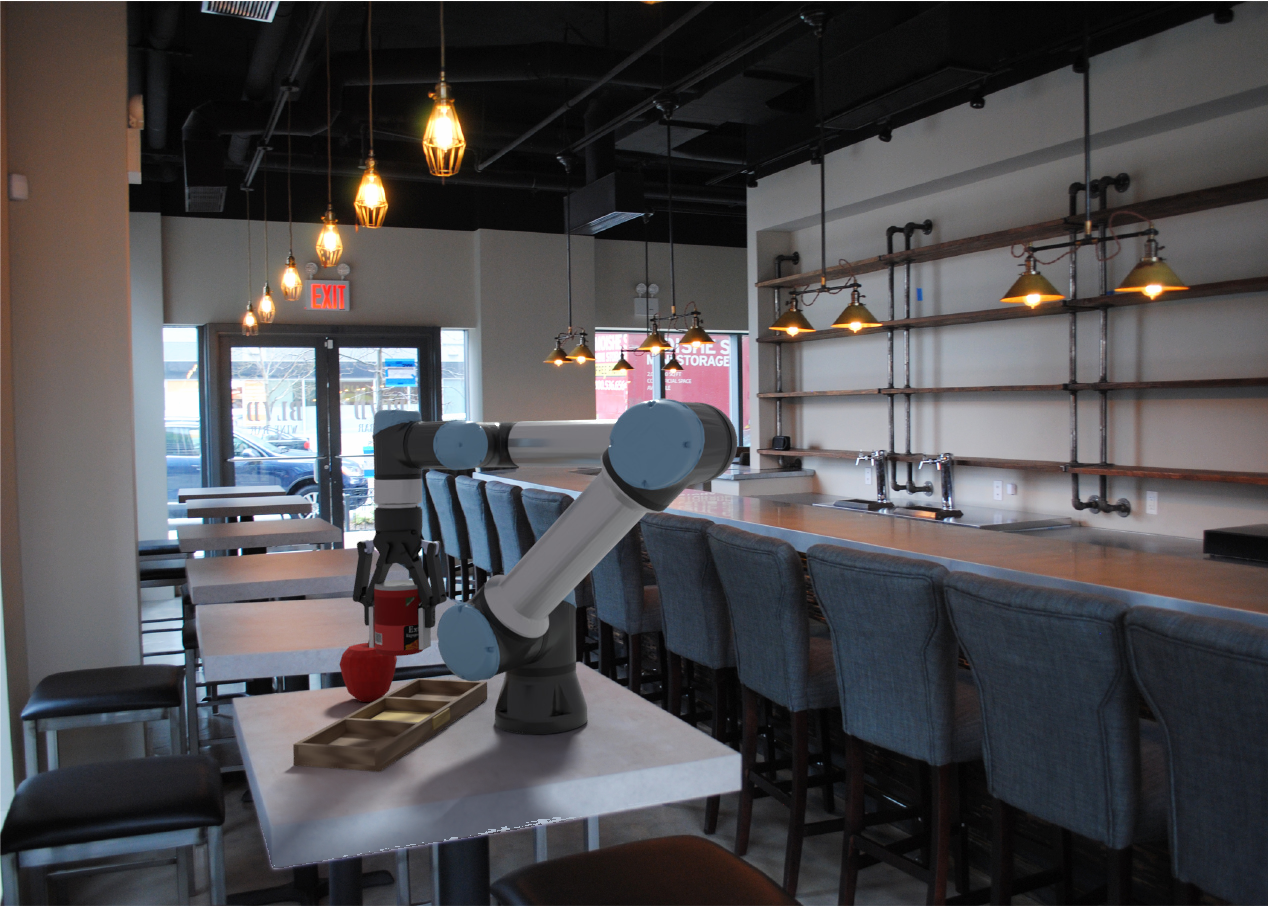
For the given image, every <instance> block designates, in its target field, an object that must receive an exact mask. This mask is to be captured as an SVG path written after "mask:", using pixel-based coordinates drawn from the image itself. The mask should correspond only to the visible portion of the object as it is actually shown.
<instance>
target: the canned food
mask: <svg viewBox="0 0 1268 906" xmlns="http://www.w3.org/2000/svg"><path fill="white" fill-rule="evenodd" d="M422 606H423V604H422V602H421V599H420V597H419V594H418V588H417V585H414V582H413V580H412V579H391V580H385V582H383V583H380V584H375V587H374V610H375V648H376V651H377V653H378V654H381V655H386V656H396V657H402V656H411V655H416V654H419V653H421V652H423V651H424V650H419V610H418V609H419V608H422Z"/></svg>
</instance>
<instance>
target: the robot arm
mask: <svg viewBox="0 0 1268 906" xmlns="http://www.w3.org/2000/svg"><path fill="white" fill-rule="evenodd" d="M735 428H736V427H735V426H734V424H733V422H732V421H731V418H730V417H728V415H727V414H726V413H724V412H723V411H722V410H721V409H719V408H718V407H716V406H715V405H711V404H710V403H706V402H705V403H704V402H696V401H695V402H692V401H678V400H675V399H670V398H657V399H651V400H645V401H642V402H639V403H636V404H634V405H632V406H630V407H629V408H628V409H626V410H625V411H624V412H623V413H622V414H621V415H620V416H619V417H618V418H617V419H616V418H615V419H613V418H612V419H575V420H574V419H573V420H542V421H541V420H536V421H535V420H534V421H473V420H465V419H451V420H438V421H437V420H436V421H423V420H422V414H421V412H420V411H419V410H417V409H381V410H378V411H377V412H375V414H374V417H373V428H372V429H373V431H372V443H373V444H372V445H373V467H374V468H373V503H374V505H377V507H375V509H374V512H373V513H374V514H373V515H374V517H373V518H374V519H373V520H374V525H373V527H374V530H375V534H374V537H373V539H371V540H369V539H366V540H360V541H358V542H356V548H357V555H358V559H357V565H356V573H355V578H354V586H353V593H352V600H353V602H354V603H360V604H361V605H363V609H364V610H363V611H364V612H363V613H364V616H363V617H364V618H363V619H364V625H365V626H366V627H367V626H368V641H369V647H371V648H374V647H375V610H374V587H375V584H380V583H383V582H385V581H386V579H387V576H388V573H389V571H390V569H391V567H392V566H393V565H394V564H400V565H404V567H405V568H406V570H407V571H408V572H409V574H410V577H411V580H413V582H414V585H417V588H418V594H419V597H420V599H421V602H422V604H423V606H422V608H419V609H418V610H419V650H423V651H424V650H425V649H428V648H430V647H431V646H432V643H431V641H432V638H431V637H432V636H431V631H432V630H431V629H432V628H434V627H435V626H436V606H438V605H440V604H442V603H445V602H447V600H448V598H447V596H448V595H447V592H446V585H445V581H444V574H443V567H442V563H441V557H440V556H441V555H440V554H441V548H442V543H441V541H439V540H436V541H430V540H427V539H425V537H424V536H423V508H422V506H419V504H421V503H422V502H423V481H422V478H423V470H427V469H430V470H435V469H436V470H453V471H458V470H459V471H461V470H462V471H463V470H464V471H465V470H469V469H470V470H471V469H476V468H477V469H479V468H527V467H528V468H589V469H590V468H594V469H595V468H596V469H597V468H600V469H601V471H600V472H599V473H598V474H597V476H596V477H594V478H593V479H592V481H591V482H590V483H589V484H588V485H587V486H586V487H585V488H584V489H583V490H582V492H581V493H579V495H578V497H576V498H575V500H573V501H572V503H570V504H569V505H568V507H567V508H566V509H565V510H564V511H563V513H561V515H560V516H559V517H558V518H557V519H556V520H555V521H554V522H553V524H552V525H551V526H550V527H549V528H548V529H547V530H546V531H545V532H544V533H543V535H542V536H541V537H540V538H539V539H538V540H537V541H536V542H535V543H534V545H532V547H530V548H529V549H528V551H527V552H526V553H525V554H524V555H523V556H522V558H520V560H519V561H518V562H517V563H516V564H515V565H514V567H512V568H511V569H510V571H509V572H508V573H507V574H506V575H505V574H496V575H493V576H491V577H489V579H488V580H487V581H486V582H484V584H482V586H481V587H480V588H479V589H478V590H477V591H476V593H475V594H473V596H472V597H471V598H470V599H468V600H467V601H465V602H457V603H455V604H454V605H452V606H449V607H448V608H447V609H446V610H445V611H444V612H443V613H442V615H441V617H440V619H439V621H438V624H437V629H436V636H437V637H436V638H437V639H438V640H437V647H438V652H439V655H440V656H441V659H442V661H443V663H444V664H445V666H446V667H447V668H448V670H449V671H450V672H451V673H452V674H453V675H455V676H456V677H457V678H459V679H461V680H462V681H486V680H490V679H492V678H494V677H495V676H498V675H501V674H504V678H503V680H502V681H503V682H502V684H501V685H502V686H501V689H500V692H499V693H498V699H497V702H496V705H495V707H494V724H495V726H496V727H497V728H499V729H500V730H503V731H506V732H508V733H509V732H510V733H516V734H521V735H522V734H524V735H547V734H556V733H562V732H563V733H564V732H568V731H571V730H574V729H577V728H580V727H582V726H584V725H585V724H586V723H587V722H588V704H587V701H586V698H585V696H584V692H583V689H582V687H581V683H580V681H579V677H578V674H577V613H576V612H577V610H578V609H577V607H578V606H577V604H576V592H575V588H576V587H577V586H578V585H579V584H580V582H582V581H583V580H584V579H585V578H586V577H587V575H588V574H590V573H591V571H593V569H594V568H595V567H596V566H597V565H598V564H599V563H600V562H601V561H602V560H603V559H604V557H606V555H608V553H610V552H611V550H612V549H613V548H615V546H616V545H617V544H618V543H619V542H620V541H621V540H622V539H623V538H624V537H625V536H626V535H627V534H628V533H629V532H630V531H631V530H632V528H633V527H634V526H635V525H636V524H637V523H638V522H639V521H640V520H641V519H642V518H643V517H644V516H646V514H660V513H662V512H664V511H665V510H666V509H667V508H668V507H669V506H670V505H671V504H672V503H673V502H674V501H675V500H676V499H677V498H678V497H679V496H680V495H681V494H682V493H683V492H684V491H685V490H686V488H688V487H689V486H690V485H698V484H704V483H709V482H712V481H714V480H716V479H717V478H719V477H721V476H722V475H723V474H724V473H726V472H727V471H728V470H729V468H730V467H731V465H732V464H733V463H734V460H735V458H736V454H737V451H738V436H737V432H736V429H735ZM375 549H376V551H377V552H378V554H379V555H378V558H377V560H376V563H375V569H374V572H373V574H372V576H371V580H370V575H371V570H372V565H373V564H372V561H373V553H374V552H375ZM422 549H423V552H424V554H425V555H426V558H425V561H426V566H427V571H428V572H427V573H428V577H429V580H428V577H427V575H426V573H425V569H424V567H423V561H422V559H421V557H420V551H421V550H422Z"/></svg>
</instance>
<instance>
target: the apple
mask: <svg viewBox="0 0 1268 906" xmlns="http://www.w3.org/2000/svg"><path fill="white" fill-rule="evenodd" d="M397 657H398V656H386V655H381V654H378V653H377V651H376V648H375V647H374V648H371V647H369V640H368V642H364V643H358V644H353V645H351V646H348V647H347V648H346V649H345V650H344V651H343V653H342V654H341V658H340V661H339V667H340V672H341V676H342V680H343V682H344V685H345V688H346V690H347V692H348V694H350V695H351V696H352V698H355V699H356V700H357V701H359V702H364V703H365V702H368V703H369V702H370V703H372V702H374V701H376V700H378V699H379V698H381V697H383V696H385V695H387V694H388V692H390V689H391V686H392V683H393V680H394V676H395V673H396V667H397V661H398V658H397Z"/></svg>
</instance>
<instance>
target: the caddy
mask: <svg viewBox="0 0 1268 906" xmlns="http://www.w3.org/2000/svg"><path fill="white" fill-rule="evenodd" d="M487 699H488V681H482V680H479V681H467V680H462V679H461V680H460V679H459V680H458V679H457V680H456V679H455V680H454V679H438V678H419V677H418V678H417V677H416V678H415V679H413V680H411V681H409V682H407V683H406V684H404V685H402V686H400V687H399V688H396V689H394V690H393V691H391V692H389V693H386V694H385V695H384V696H383V697H381V698H379V699H378V700H376V701H371V702H370V703H369V704H367V705H365V706H363V707H361V708H358V709H357V710H355V711H353V712H352V713H350V714H348V715H346V716H344V717H341V718H340V719H338V720H337V721H334V722H332V723H330V724H329V725H326V727H323V728H321V729H319V730H318V731H316V732H314V733H312V734H310V735H308V736H306V737H304V738H303V739H301V740H299V741H297V742H295V743H293V744H292V745H293V748H292V750H293V751H292V752H293V766H301V767H312V768H314V767H315V768H325V769H326V768H327V769H340V770H350V771H351V770H353V771H364V772H365V771H367V772H368V771H369V772H376V773H377V772H382V771H384V770H386V769H387V768H388V767H389V766H391V765H392V764H394V763H395V762H396V761H398V760H399V759H401V758H402V757H404V756H406V755H407V754H408V753H410V752H411V751H413V750H414V749H416V748H417V747H419V746H420V745H421V744H423V743H424V742H427V740H429V739H430V738H432V737H433V736H435V735H437V734H438V733H439V732H440V731H443V729H445V728H446V727H448V726H449V725H451V724H452V723H454V722H455V721H457V720H458V719H459V718H461V717H463V716H464V715H466V714H467V713H469V712H470V711H471V710H473V709H474V708H476V707H477V706H479V705H480V704H482V703H483V702H485V701H486V700H487Z"/></svg>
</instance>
